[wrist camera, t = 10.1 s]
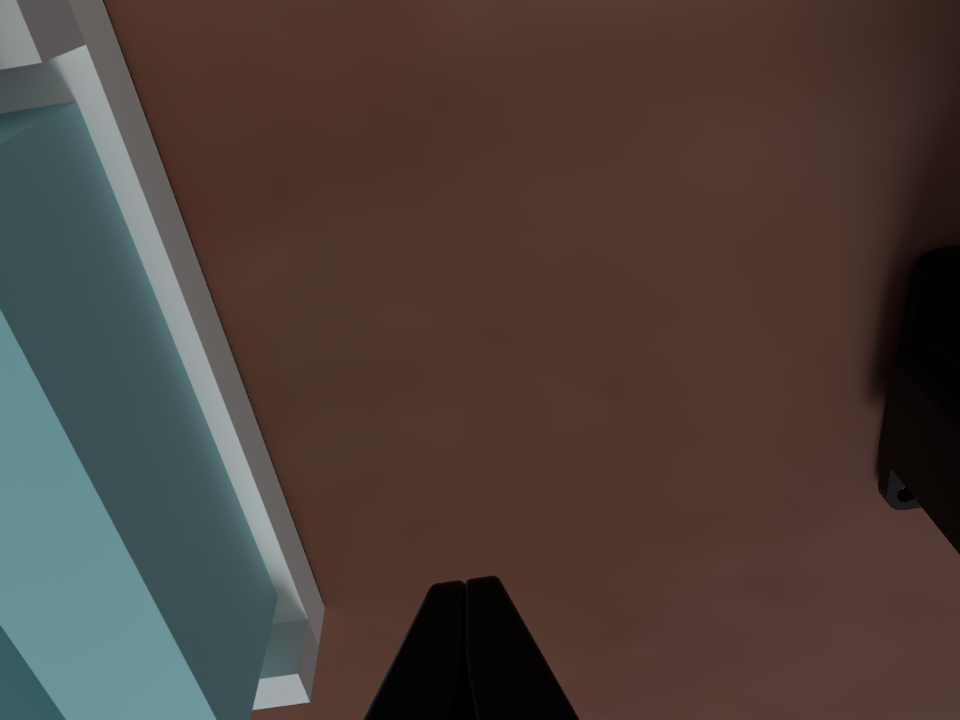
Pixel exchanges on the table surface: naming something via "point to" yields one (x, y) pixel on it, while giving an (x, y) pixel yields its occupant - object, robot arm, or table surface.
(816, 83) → the table surface
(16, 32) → the board
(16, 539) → the teal notched block
